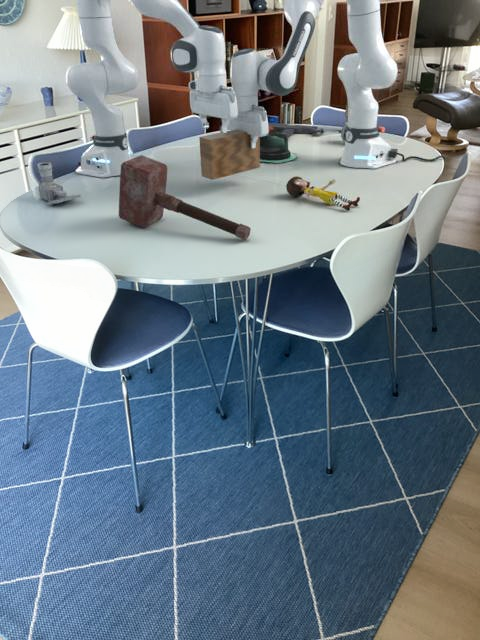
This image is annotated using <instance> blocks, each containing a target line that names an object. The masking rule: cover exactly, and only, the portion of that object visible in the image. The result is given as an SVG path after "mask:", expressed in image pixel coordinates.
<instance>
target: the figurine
mask: <svg viewBox="0 0 480 640" xmlns="http://www.w3.org/2000/svg"><path fill="white" fill-rule="evenodd" d="M336 182H337V180H336V179H335V178H333V179H330V180H329V182H328V183H327V184H326V185H324V186H323V187H321V188H318V187H315V186H313V185H312V186H310V185H311V182H310V181H308V180H304V179H303V178H302V177H300V176H292V177H291V178H290V179H289V180H288V181H287V183H286V186H285V187H286V192H287V193H288V195H290V196H291V197H302V196H303V195H305V196H306V197H307V198H308V199H309V198H310V197H316V198H319V199H320V200H322V201H323V202H324V203H326V204H328V205H333V204H334V205H335V206H337V207H340V208H342V209H344V210H346V211H350V210H351V206H354V207H358V206H359V204H358V203H359V202H360V201H361V197H359V196H358V197H356V200H351V199H349V198H347V197H345V196H343V195H342V194H339V192H336V191H330V190H326V189H327V188H328V187H329V186H332V185H334V183H336ZM339 200H340V201H342V202H343V203H346V204H343V203H342V202H340V201H339Z"/></svg>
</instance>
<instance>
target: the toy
mask: <svg viewBox="0 0 480 640" xmlns="http://www.w3.org/2000/svg"><path fill="white" fill-rule="evenodd" d="M346 126H347V122H346V121H345V122H344V123H343V126H342V128H341V129H339V130H338V134H340V137H341V139H342V141H343V142H346V137H345V132H346Z"/></svg>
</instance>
